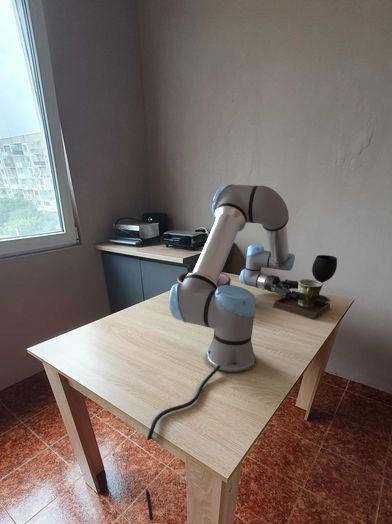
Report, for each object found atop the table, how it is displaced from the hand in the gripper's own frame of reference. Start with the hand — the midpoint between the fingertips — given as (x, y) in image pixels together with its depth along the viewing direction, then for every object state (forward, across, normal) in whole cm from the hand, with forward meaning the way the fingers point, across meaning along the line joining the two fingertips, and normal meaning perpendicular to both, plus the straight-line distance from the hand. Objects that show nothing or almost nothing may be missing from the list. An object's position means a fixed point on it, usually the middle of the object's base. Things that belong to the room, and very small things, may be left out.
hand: (312, 293), depth 126 cm
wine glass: (-4, -17, -8) cm, 19 cm away
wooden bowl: (-43, +23, -8) cm, 49 cm away
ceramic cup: (-2, 0, -6) cm, 6 cm away
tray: (-4, 0, -8) cm, 9 cm away
